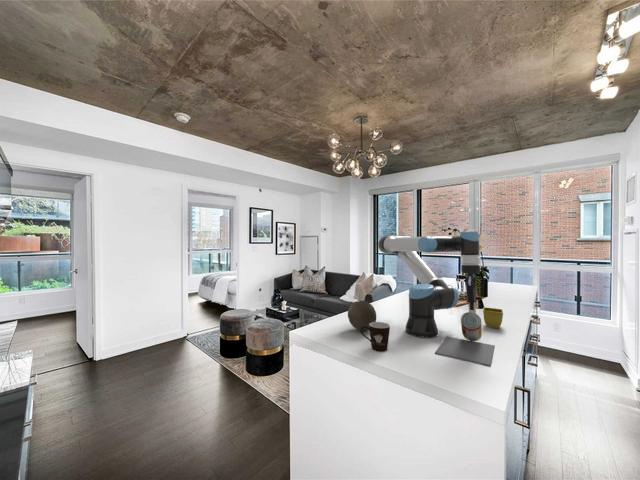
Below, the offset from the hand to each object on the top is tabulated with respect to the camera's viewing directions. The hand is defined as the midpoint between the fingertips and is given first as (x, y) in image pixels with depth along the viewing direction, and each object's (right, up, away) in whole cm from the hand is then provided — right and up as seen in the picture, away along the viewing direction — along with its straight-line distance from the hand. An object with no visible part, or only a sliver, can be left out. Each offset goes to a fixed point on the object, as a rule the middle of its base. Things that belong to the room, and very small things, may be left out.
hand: (472, 316), depth 123 cm
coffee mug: (-45, -11, -8) cm, 47 cm away
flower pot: (+22, -11, +20) cm, 32 cm away
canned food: (+1, -8, +2) cm, 9 cm away
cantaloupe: (-48, -11, +14) cm, 51 cm away
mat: (-9, -11, -11) cm, 18 cm away
